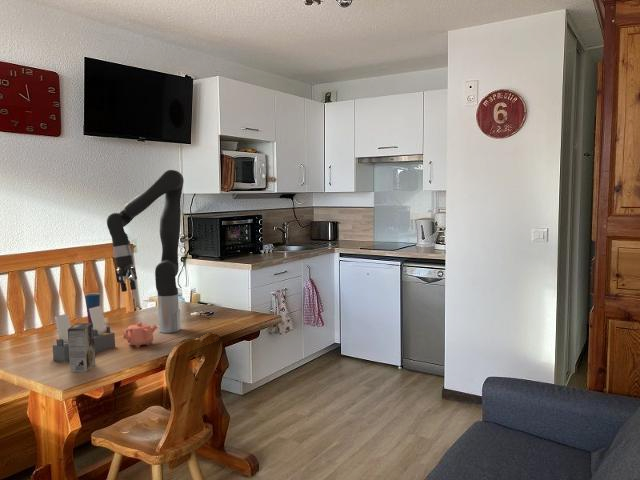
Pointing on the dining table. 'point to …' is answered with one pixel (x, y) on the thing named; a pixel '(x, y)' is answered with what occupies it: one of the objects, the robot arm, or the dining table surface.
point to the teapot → (139, 334)
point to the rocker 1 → (63, 326)
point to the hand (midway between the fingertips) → (129, 290)
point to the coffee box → (81, 347)
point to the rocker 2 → (98, 319)
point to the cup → (92, 303)
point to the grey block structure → (100, 343)
